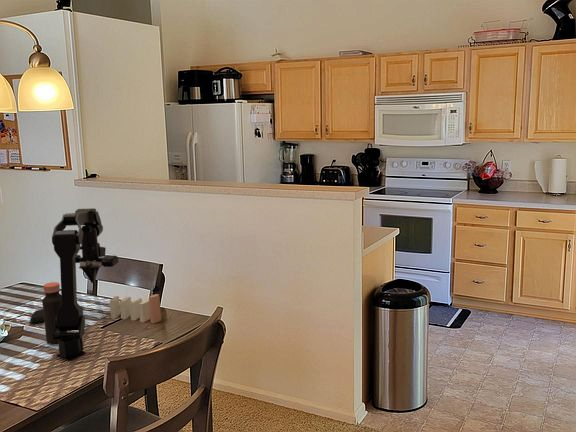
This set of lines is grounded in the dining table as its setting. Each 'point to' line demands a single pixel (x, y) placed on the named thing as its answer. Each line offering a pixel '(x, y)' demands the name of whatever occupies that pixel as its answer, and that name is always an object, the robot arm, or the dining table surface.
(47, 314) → the bottle
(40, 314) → the carrying case or bag
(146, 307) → the ivory domino
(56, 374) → the dining table surface
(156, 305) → the terracotta domino
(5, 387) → the dining table surface
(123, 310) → the ivory domino
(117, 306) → the ivory domino
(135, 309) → the ivory domino
